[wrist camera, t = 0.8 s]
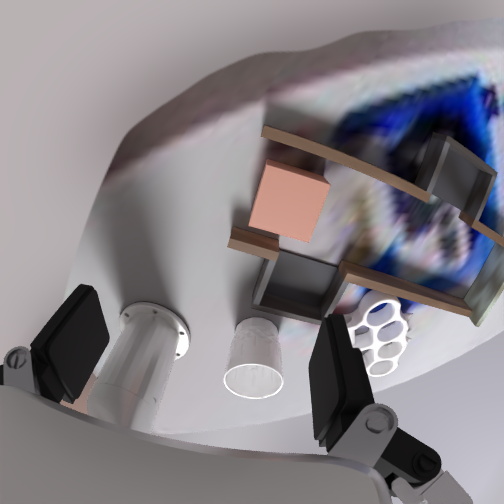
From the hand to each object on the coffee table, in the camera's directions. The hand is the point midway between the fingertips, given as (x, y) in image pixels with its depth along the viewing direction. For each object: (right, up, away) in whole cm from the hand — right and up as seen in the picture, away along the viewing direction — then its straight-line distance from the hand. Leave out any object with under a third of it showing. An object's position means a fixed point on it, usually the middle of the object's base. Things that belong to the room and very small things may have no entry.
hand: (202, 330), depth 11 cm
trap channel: (+21, +5, +24) cm, 33 cm away
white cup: (+3, -9, +33) cm, 35 cm away
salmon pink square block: (+6, +10, +23) cm, 26 cm away
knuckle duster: (+21, -10, +33) cm, 41 cm away
